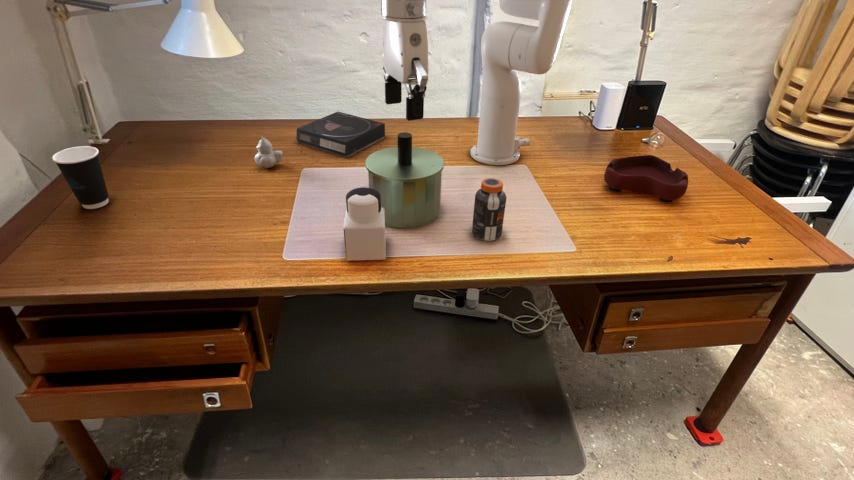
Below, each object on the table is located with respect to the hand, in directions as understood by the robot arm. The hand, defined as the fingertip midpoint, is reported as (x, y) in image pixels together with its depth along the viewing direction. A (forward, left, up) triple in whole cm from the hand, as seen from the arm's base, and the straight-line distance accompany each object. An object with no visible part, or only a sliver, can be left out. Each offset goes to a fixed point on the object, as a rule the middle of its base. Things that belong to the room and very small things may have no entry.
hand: (403, 111), depth 95 cm
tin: (0, 0, -21) cm, 21 cm away
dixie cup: (+58, -29, -22) cm, 68 cm away
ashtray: (-56, +12, -22) cm, 61 cm away
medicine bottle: (+12, +11, -22) cm, 27 cm away
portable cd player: (0, -42, -22) cm, 47 cm away
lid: (0, 0, -11) cm, 11 cm away
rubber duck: (+21, -33, -22) cm, 45 cm away
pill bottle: (-11, +15, -22) cm, 29 cm away
